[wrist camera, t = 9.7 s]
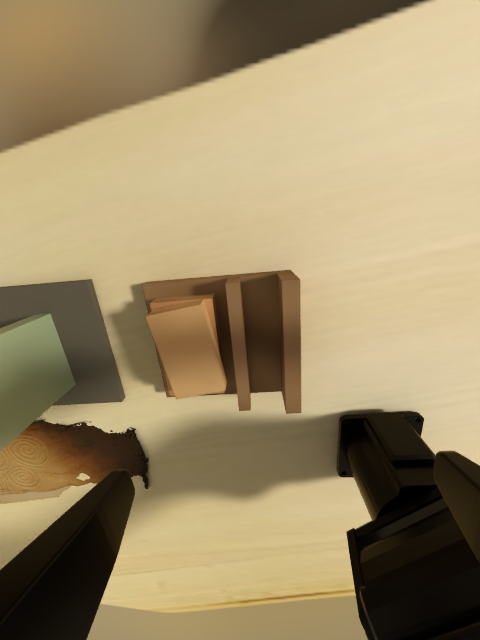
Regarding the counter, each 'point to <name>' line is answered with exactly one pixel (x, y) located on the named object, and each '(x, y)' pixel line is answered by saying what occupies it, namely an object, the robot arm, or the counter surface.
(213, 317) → the offcut lower
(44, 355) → the block
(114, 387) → the mat
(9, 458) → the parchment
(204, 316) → the offcut upper
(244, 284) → the rack
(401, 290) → the counter surface
